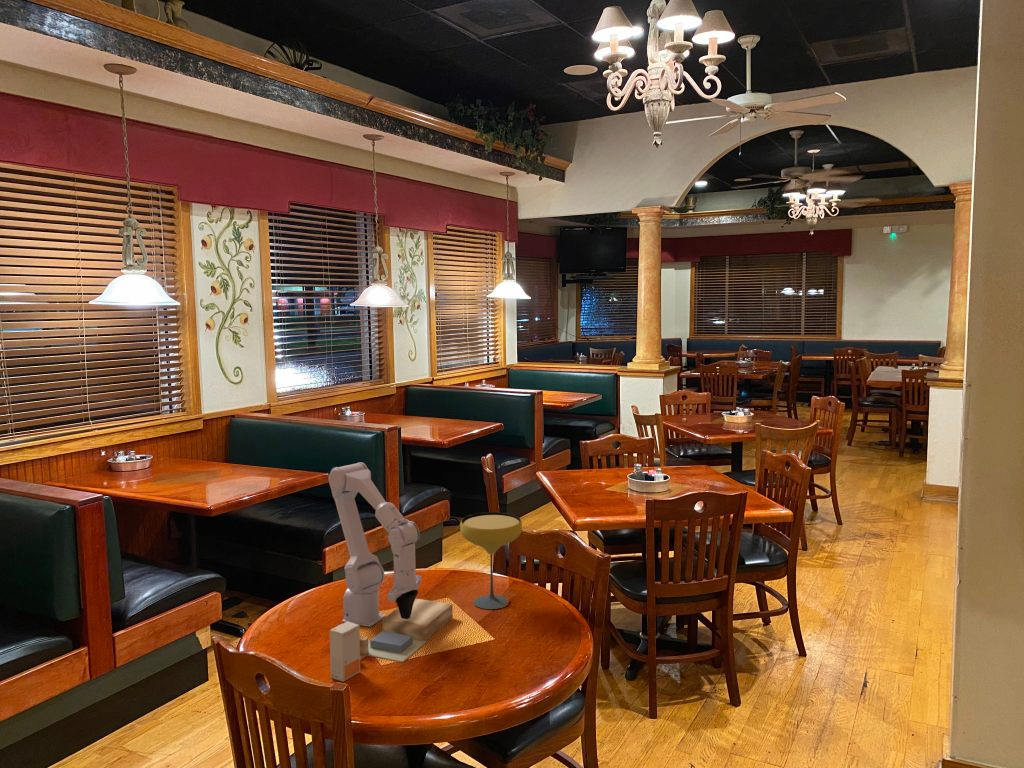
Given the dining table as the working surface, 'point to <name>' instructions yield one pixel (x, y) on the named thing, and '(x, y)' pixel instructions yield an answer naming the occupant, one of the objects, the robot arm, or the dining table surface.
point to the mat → (393, 655)
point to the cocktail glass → (491, 543)
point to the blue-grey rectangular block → (391, 642)
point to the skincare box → (345, 651)
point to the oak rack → (363, 647)
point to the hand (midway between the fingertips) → (405, 617)
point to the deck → (419, 619)
